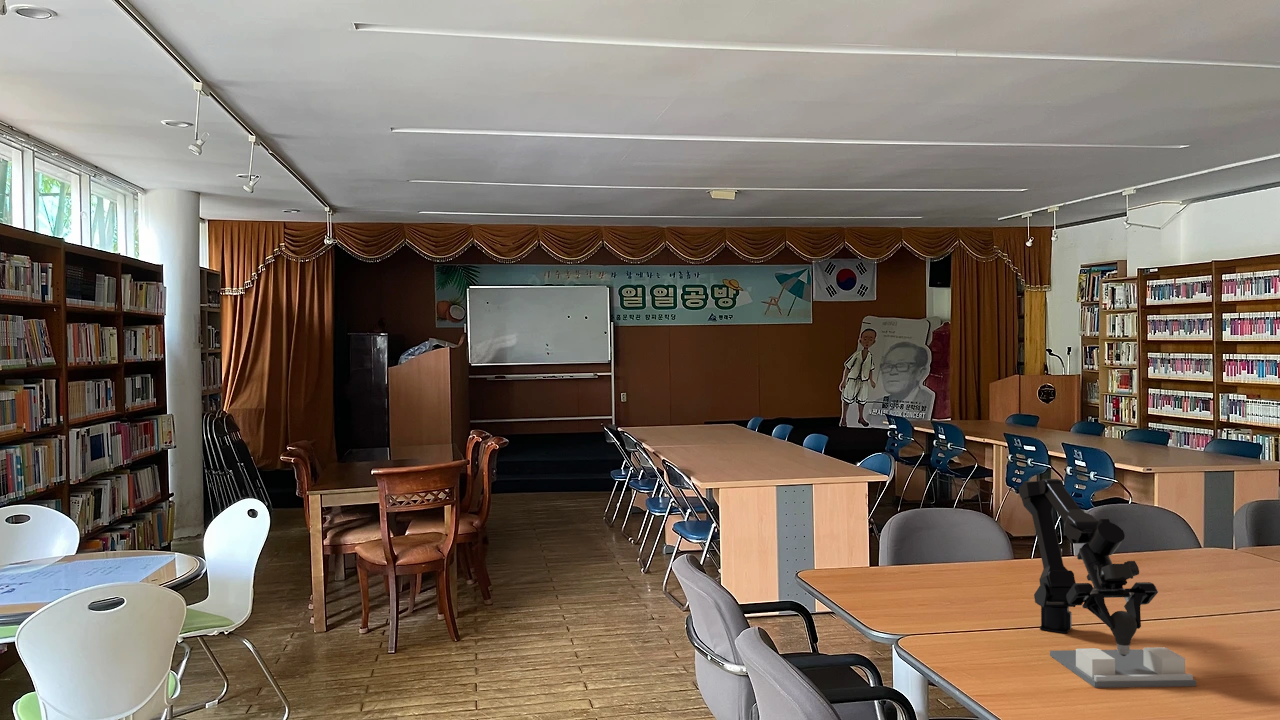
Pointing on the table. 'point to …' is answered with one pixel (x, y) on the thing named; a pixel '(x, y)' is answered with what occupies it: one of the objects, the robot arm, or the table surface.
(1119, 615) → the black light bulb
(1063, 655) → the board
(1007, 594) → the table surface
